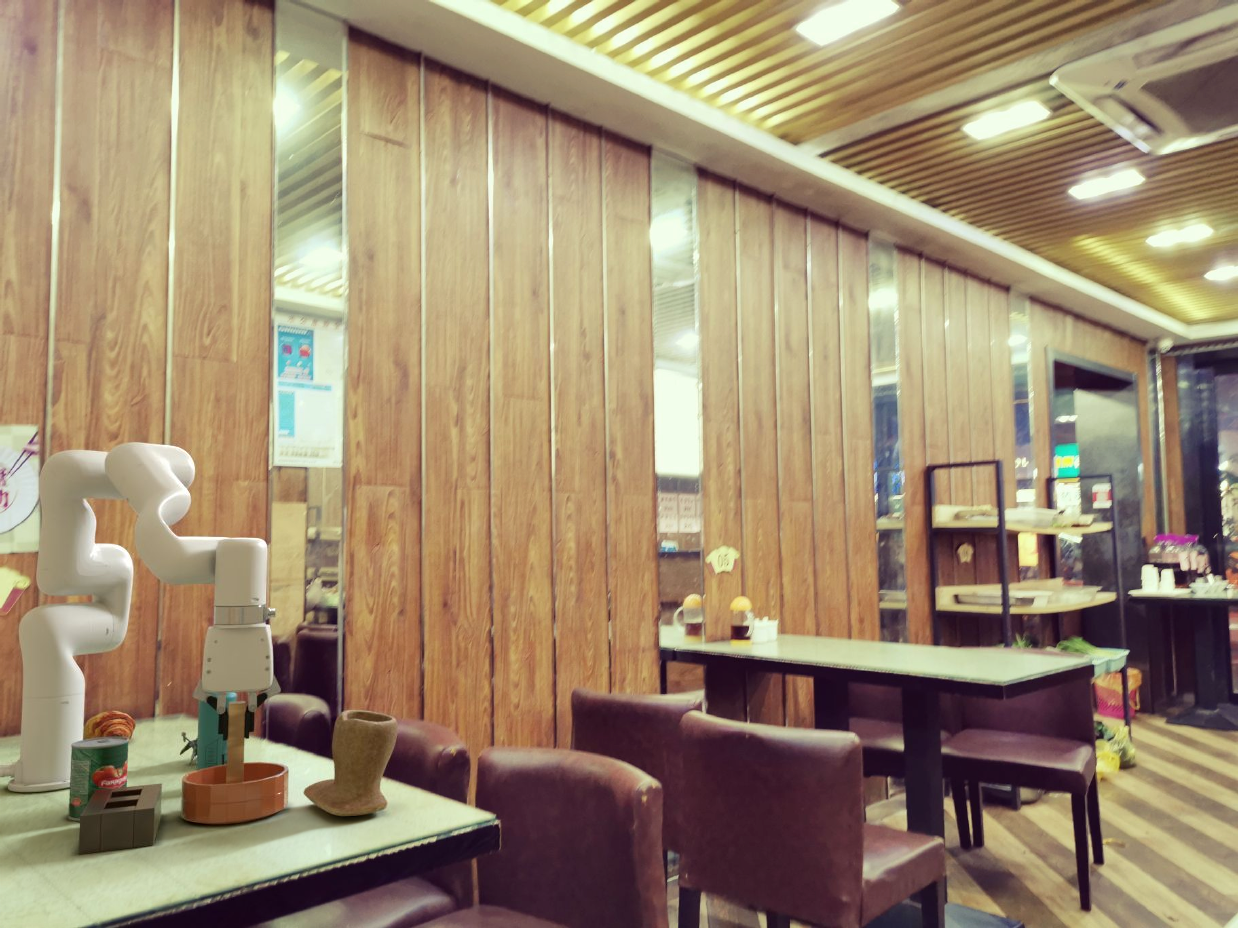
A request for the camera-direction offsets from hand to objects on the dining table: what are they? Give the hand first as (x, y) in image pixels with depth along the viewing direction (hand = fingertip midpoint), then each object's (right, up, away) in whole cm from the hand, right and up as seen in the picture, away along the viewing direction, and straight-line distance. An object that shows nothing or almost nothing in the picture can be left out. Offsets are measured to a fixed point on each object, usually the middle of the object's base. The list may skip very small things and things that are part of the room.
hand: (235, 736), depth 142 cm
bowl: (0, -12, +1) cm, 12 cm away
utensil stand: (-12, -11, -10) cm, 19 cm away
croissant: (-53, -19, +60) cm, 82 cm away
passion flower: (-20, -16, +37) cm, 45 cm away
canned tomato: (-22, -13, +1) cm, 25 cm away
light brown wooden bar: (0, -8, -1) cm, 8 cm away
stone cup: (+18, -12, +2) cm, 21 cm away
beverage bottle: (-11, -14, +17) cm, 24 cm away
